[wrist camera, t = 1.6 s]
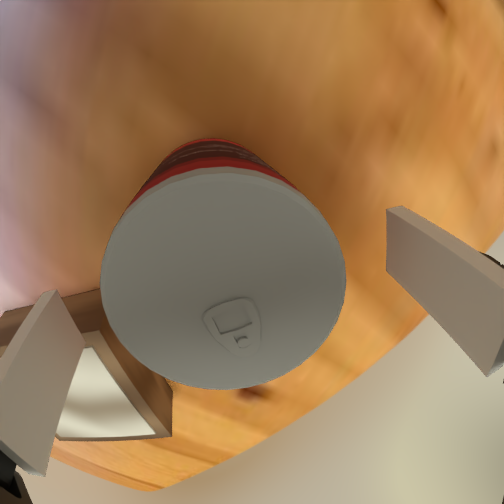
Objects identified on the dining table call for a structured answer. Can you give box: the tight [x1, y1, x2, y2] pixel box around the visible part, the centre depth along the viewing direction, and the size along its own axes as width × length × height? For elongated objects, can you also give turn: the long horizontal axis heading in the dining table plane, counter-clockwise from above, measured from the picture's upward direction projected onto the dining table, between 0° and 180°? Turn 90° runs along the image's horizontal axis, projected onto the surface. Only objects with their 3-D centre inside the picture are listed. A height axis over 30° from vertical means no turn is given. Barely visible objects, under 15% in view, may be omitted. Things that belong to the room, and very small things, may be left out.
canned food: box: [100, 138, 346, 390], centre depth 14 cm, size 8×8×11 cm
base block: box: [0, 289, 173, 441], centre depth 20 cm, size 12×12×5 cm
